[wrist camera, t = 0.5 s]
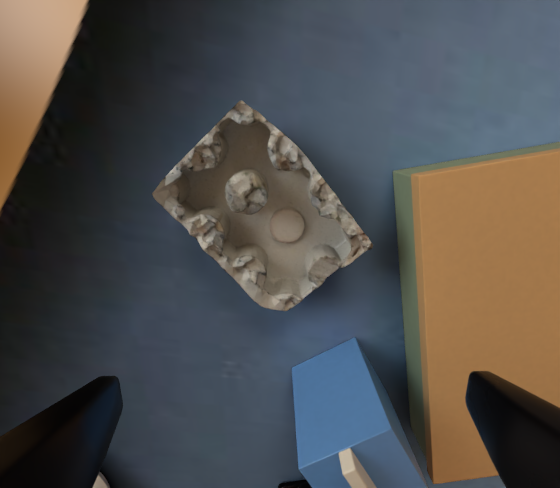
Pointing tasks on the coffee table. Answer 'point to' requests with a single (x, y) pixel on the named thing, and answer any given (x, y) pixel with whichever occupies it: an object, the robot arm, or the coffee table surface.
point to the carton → (349, 425)
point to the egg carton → (261, 210)
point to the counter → (477, 292)
